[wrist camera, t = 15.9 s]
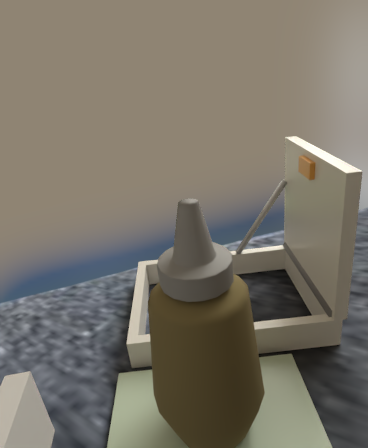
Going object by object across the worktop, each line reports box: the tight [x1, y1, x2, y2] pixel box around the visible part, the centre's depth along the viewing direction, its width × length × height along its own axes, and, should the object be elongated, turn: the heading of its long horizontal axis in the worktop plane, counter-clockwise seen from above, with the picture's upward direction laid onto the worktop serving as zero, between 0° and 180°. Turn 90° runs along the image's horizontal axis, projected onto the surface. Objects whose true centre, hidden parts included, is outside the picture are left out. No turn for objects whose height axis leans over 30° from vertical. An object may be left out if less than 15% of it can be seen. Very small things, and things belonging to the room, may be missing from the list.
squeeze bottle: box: [148, 199, 265, 448], centre depth 23 cm, size 8×8×18 cm
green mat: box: [107, 354, 332, 448], centre depth 27 cm, size 16×11×1 cm
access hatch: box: [126, 136, 362, 368], centre depth 37 cm, size 20×15×17 cm
